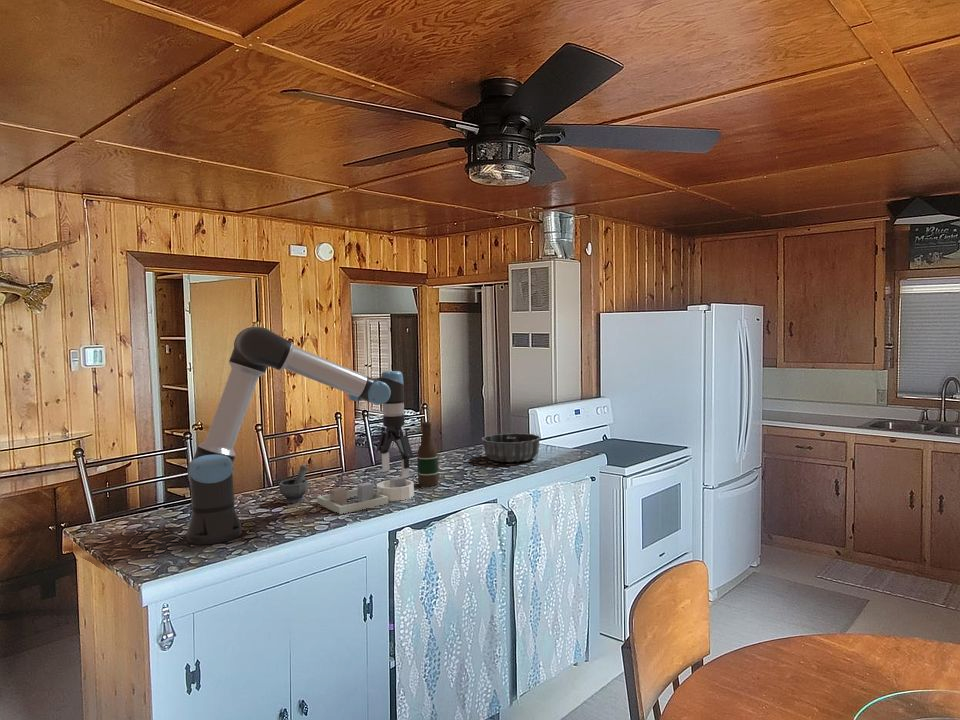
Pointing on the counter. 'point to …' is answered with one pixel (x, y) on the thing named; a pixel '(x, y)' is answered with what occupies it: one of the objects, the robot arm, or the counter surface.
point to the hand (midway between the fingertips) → (395, 474)
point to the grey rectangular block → (397, 482)
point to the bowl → (396, 490)
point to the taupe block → (338, 496)
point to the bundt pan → (511, 447)
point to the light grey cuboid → (365, 491)
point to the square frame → (377, 501)
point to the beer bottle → (427, 458)
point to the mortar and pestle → (295, 487)
